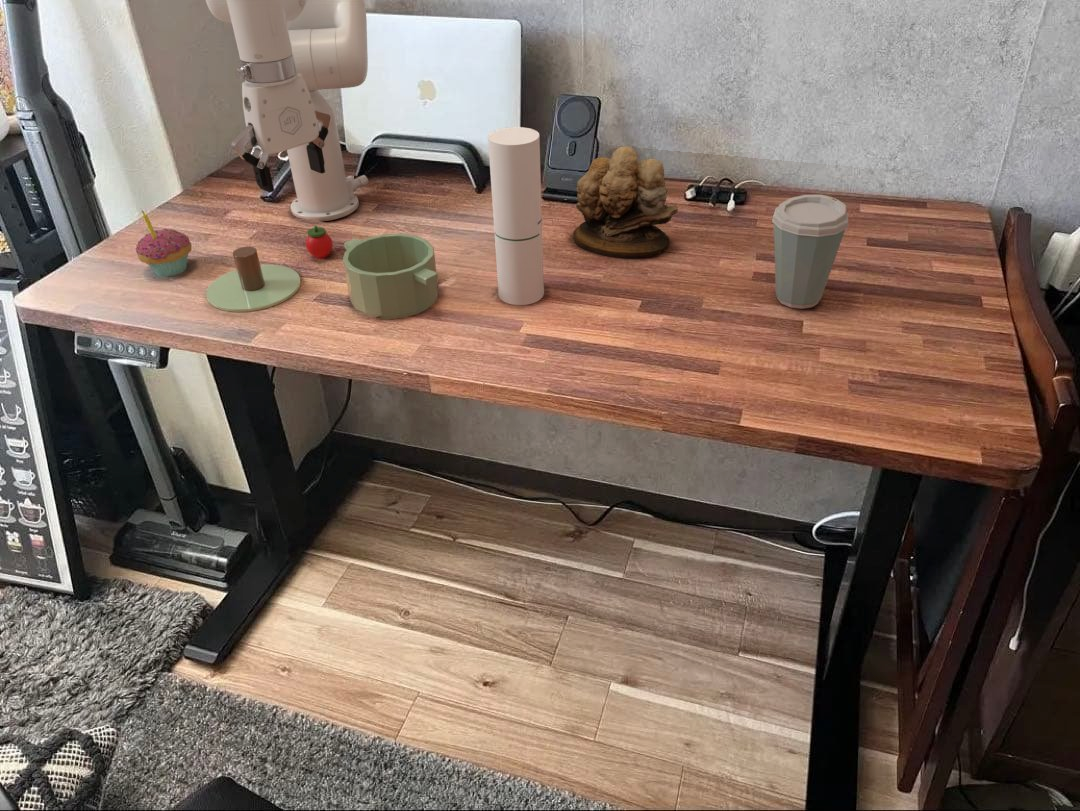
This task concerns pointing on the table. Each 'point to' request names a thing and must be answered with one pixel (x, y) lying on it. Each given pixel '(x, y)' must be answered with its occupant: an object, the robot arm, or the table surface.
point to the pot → (391, 275)
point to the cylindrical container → (517, 213)
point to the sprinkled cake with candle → (164, 250)
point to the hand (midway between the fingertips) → (293, 180)
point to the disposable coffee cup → (806, 247)
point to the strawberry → (318, 242)
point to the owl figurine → (623, 206)
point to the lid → (252, 284)
